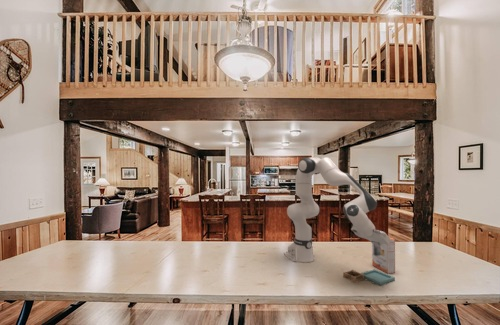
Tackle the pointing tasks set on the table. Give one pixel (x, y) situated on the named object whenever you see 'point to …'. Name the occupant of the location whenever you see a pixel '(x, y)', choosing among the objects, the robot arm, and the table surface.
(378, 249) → the peg
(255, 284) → the table surface
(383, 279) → the tray
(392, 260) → the cracker box
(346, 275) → the collar
